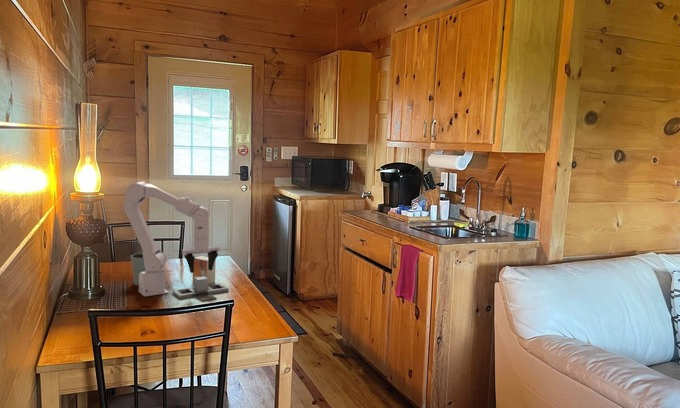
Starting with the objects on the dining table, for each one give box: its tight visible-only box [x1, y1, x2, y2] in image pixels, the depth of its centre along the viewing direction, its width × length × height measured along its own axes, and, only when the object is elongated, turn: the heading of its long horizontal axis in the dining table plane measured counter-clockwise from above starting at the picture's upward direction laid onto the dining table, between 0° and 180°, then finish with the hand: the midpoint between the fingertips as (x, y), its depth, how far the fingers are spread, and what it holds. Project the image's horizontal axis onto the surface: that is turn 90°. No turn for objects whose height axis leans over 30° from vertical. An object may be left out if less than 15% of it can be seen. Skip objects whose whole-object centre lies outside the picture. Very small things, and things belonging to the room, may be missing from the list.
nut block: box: [193, 276, 209, 292], centre depth 200 cm, size 4×4×6 cm
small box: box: [192, 255, 217, 285], centre depth 215 cm, size 8×6×10 cm
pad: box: [195, 294, 218, 303], centre depth 193 cm, size 6×6×1 cm
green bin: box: [130, 252, 146, 287], centre depth 209 cm, size 10×10×12 cm
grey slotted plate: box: [171, 282, 230, 300], centre depth 200 cm, size 20×8×1 cm, turn 127°
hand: (201, 271), depth 199 cm, fingers open, 7 cm apart
